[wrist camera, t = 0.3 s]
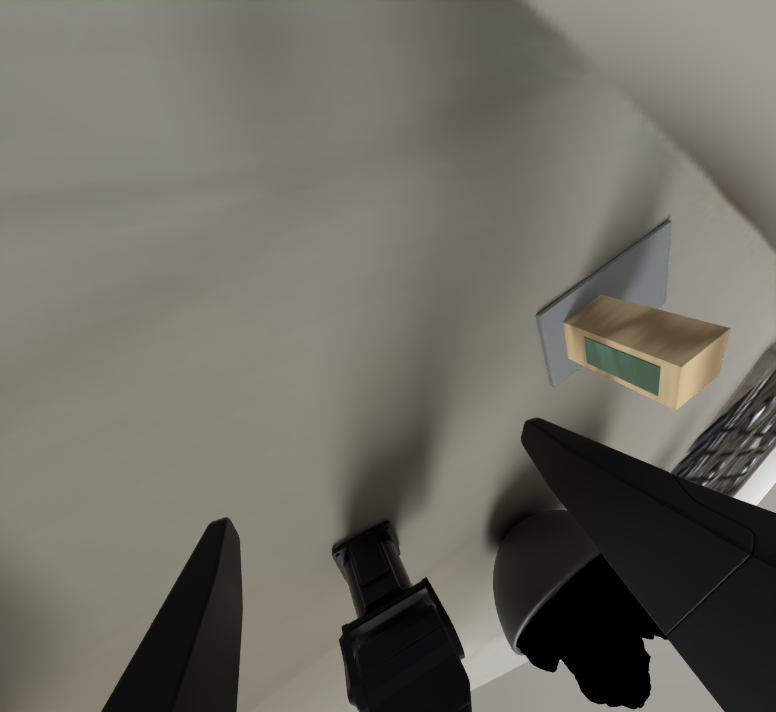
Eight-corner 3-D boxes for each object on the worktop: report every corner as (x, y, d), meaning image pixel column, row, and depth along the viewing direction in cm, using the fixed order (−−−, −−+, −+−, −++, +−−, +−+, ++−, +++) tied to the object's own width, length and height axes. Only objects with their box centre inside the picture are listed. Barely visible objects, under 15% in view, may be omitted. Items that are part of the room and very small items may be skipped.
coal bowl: (478, 594, 51) (582, 766, 35) (446, 540, 40) (577, 755, 24) (572, 521, 54) (706, 651, 38) (566, 453, 43) (751, 596, 27)
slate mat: (550, 385, 35) (553, 387, 35) (536, 315, 29) (539, 316, 29) (661, 302, 37) (665, 302, 36) (667, 220, 31) (671, 220, 31)
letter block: (567, 359, 33) (674, 410, 25) (562, 322, 31) (680, 367, 22) (603, 332, 34) (719, 374, 26) (600, 294, 31) (730, 328, 23)
